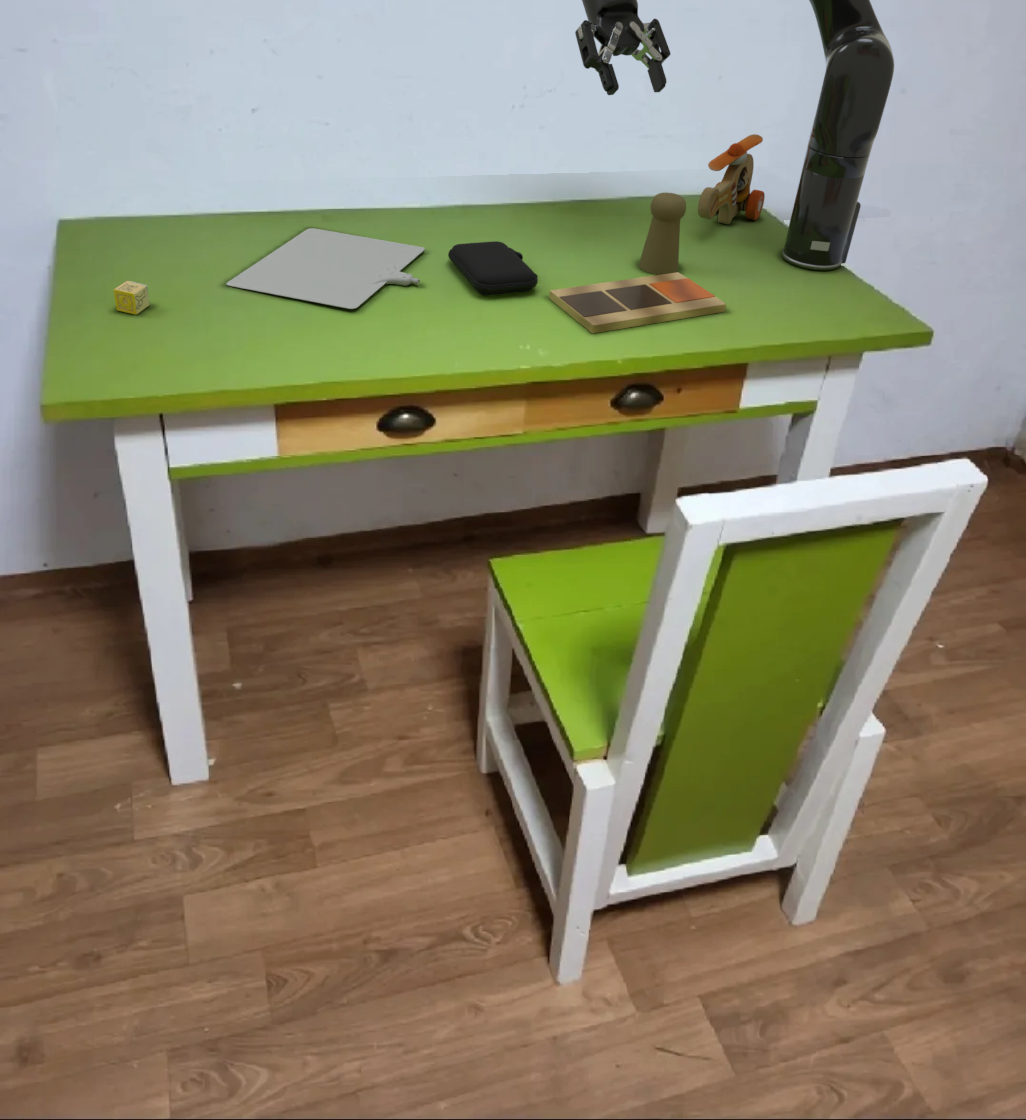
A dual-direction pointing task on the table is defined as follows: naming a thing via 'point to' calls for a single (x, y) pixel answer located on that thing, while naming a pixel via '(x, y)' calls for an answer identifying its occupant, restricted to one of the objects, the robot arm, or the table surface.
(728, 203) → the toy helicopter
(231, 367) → the table surface
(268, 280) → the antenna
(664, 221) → the olive brown pawn
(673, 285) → the board
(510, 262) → the carrying case
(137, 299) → the alphabet block
